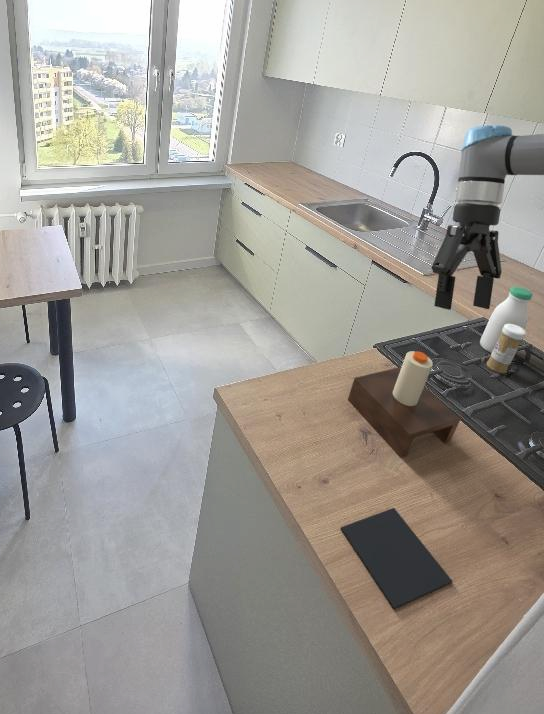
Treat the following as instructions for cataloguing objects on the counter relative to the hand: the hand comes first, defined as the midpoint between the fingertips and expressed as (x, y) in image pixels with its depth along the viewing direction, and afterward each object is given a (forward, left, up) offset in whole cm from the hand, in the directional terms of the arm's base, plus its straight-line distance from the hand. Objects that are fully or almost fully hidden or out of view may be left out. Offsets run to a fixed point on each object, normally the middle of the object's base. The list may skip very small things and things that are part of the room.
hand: (462, 307), depth 85 cm
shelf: (+1, +6, -31) cm, 31 cm away
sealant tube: (+1, +6, -24) cm, 24 cm away
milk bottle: (+13, -43, -31) cm, 55 cm away
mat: (-21, +29, -31) cm, 47 cm away
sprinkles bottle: (+7, -35, -31) cm, 47 cm away
